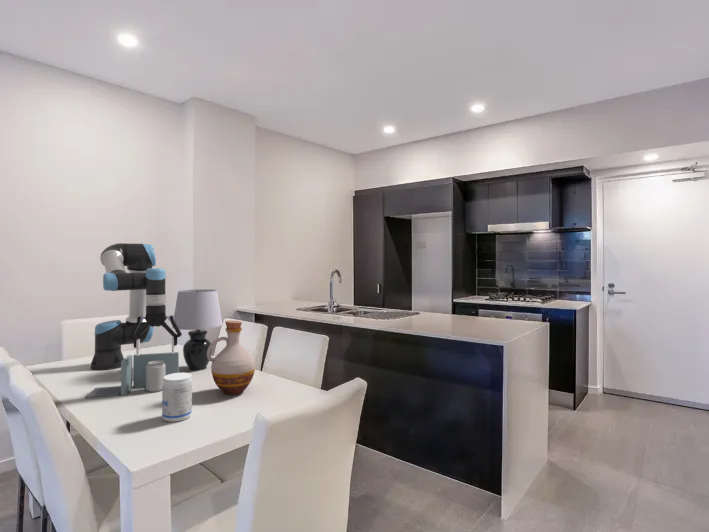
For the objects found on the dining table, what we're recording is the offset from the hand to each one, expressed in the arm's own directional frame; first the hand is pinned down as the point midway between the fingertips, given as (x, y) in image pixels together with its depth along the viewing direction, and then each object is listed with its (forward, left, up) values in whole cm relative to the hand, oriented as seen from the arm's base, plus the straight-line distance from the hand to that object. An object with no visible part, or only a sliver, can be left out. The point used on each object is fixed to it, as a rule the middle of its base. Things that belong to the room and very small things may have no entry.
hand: (155, 354), depth 171 cm
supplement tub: (+35, +13, -15) cm, 40 cm away
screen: (-2, -2, -15) cm, 15 cm away
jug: (+12, +31, -15) cm, 37 cm away
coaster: (-2, -19, -15) cm, 25 cm away
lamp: (-32, +14, -15) cm, 38 cm away
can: (0, 0, -15) cm, 16 cm away
